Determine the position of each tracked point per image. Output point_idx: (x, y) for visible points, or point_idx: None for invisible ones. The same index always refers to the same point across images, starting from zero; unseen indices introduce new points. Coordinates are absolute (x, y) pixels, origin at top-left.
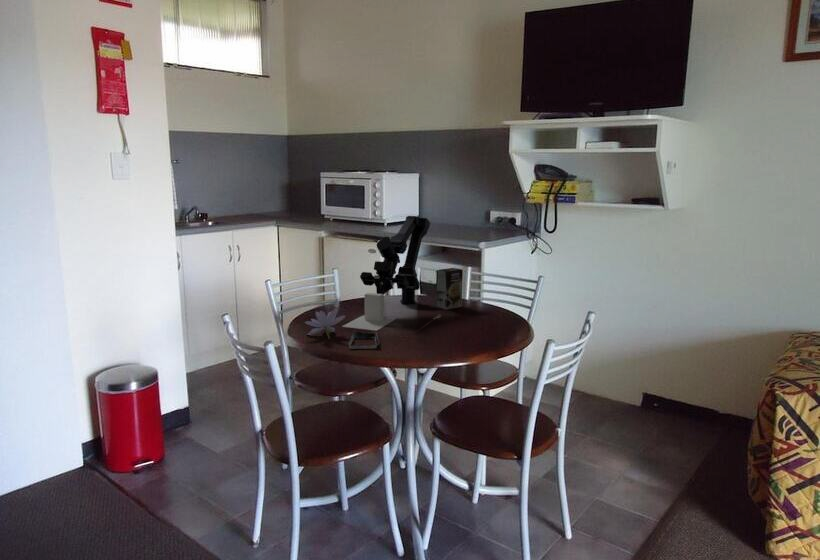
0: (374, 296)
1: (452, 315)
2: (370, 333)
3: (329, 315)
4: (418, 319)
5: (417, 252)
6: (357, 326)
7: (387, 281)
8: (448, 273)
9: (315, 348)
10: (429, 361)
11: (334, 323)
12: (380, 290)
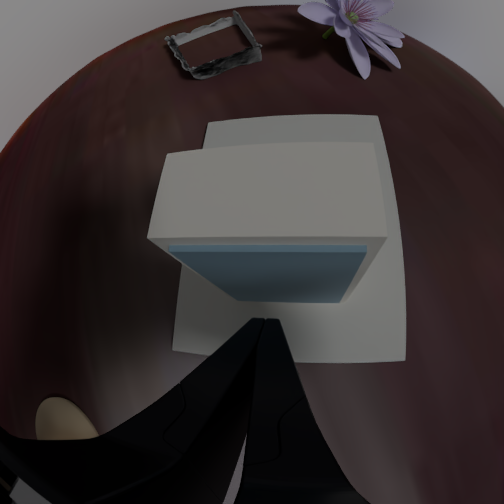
0: (240, 155)
1: None
2: (205, 63)
3: None
4: (86, 384)
5: None
6: (314, 133)
7: (24, 444)
8: None
9: None
10: (85, 66)
11: (325, 16)
12: (221, 377)
